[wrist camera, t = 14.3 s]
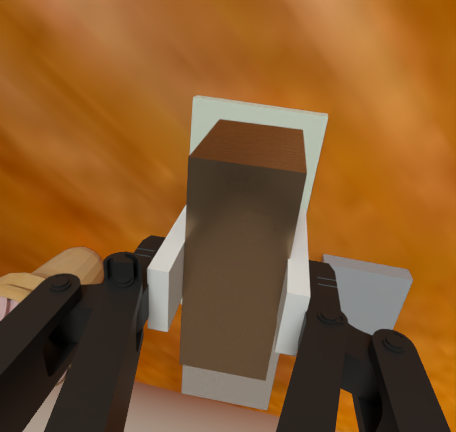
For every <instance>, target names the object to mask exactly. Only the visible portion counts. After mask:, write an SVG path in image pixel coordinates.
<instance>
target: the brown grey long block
mask: <svg viewBox="0 0 456 432" xmlns="http://www.w3.org/2000/svg"><path fill="white" fill-rule="evenodd" d="M306 176H307V167H306V156H305V145H304V135H303V130H301V129H294V128H286V127H278V126H270V125H262V124H255V123H247V122H239V121H231V120H223V119H219V120H218V121H217V123H216V124H215V125H214V126H213V128H212V129H211V130H210V131H209V132H208V134H207V135H206V136H205V137H204V139H203V140H202V141H201V142H200V143H199V145H198V146H197V147H196V148H195V150H194V151H193V152H192V153H191V154H190V156H189V158H188V181H187V203H186V226H185V249H184V271H183V294H182V317H181V339H180V362H179V364H181V365H183V374H182V393H183V394H188V395H193V396H198V397H203V398H208V399H213V400H218V401H223V402H228V403H232V404H237V405H242V406H247V407H252V408H257V409H262V410H267V409H268V404H269V400H270V395H271V390H272V386H273V381H274V376H275V372H276V367H277V362H278V358H279V353H276V352H275V342H276V326H277V313H278V308H279V303H280V298H281V293H282V288H283V283H284V278H285V273H286V267H287V262H288V259H290V256H291V251H292V246H293V241H294V236H295V231H296V226H297V221H298V216H299V211H300V206H301V201H302V196H303V191H304V186H305V181H306Z"/></svg>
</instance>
